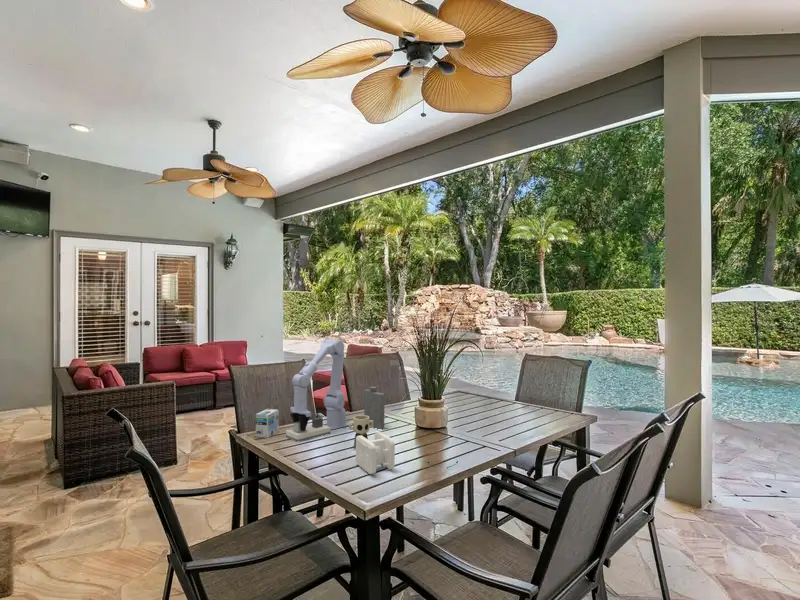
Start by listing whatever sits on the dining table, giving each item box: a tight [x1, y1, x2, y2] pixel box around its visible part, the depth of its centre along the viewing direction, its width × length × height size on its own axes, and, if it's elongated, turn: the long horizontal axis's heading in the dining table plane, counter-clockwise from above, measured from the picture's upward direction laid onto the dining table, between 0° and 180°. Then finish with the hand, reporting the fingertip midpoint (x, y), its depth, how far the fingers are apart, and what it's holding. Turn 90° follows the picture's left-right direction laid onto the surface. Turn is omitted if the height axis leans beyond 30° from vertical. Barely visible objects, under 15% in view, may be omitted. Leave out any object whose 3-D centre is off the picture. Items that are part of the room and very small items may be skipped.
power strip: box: [285, 424, 332, 443], centre depth 204 cm, size 18×10×3 cm, turn 135°
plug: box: [293, 421, 305, 433], centre depth 201 cm, size 4×3×6 cm
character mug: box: [348, 414, 373, 448], centre depth 188 cm, size 11×7×13 cm, turn 111°
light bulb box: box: [255, 408, 280, 439], centre depth 205 cm, size 11×7×11 cm, turn 168°
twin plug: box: [311, 416, 324, 428], centre depth 208 cm, size 4×3×4 cm
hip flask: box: [363, 386, 385, 430], centre depth 220 cm, size 16×4×20 cm, turn 37°
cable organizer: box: [355, 431, 396, 475], centre depth 164 cm, size 15×11×12 cm
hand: (300, 429), depth 201 cm, fingers open, 4 cm apart
